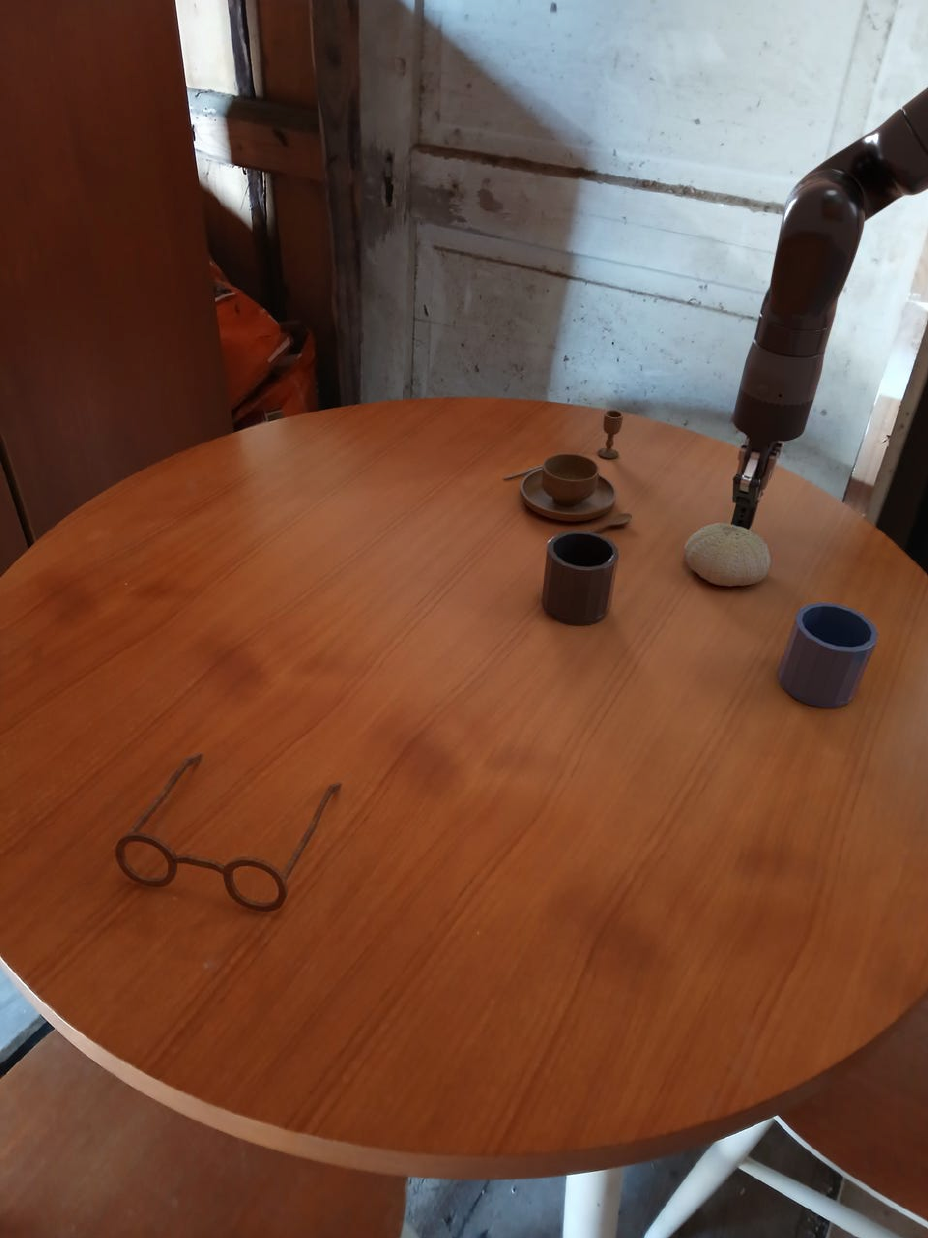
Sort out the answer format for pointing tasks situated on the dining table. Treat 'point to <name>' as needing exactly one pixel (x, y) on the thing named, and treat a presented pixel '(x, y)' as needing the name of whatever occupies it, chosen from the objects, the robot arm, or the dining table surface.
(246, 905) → the glasses
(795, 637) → the blue cup
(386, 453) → the dining table surface
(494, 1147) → the dining table surface
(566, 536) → the charcoal cup
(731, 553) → the sea urchin shell
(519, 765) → the dining table surface
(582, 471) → the place setting
